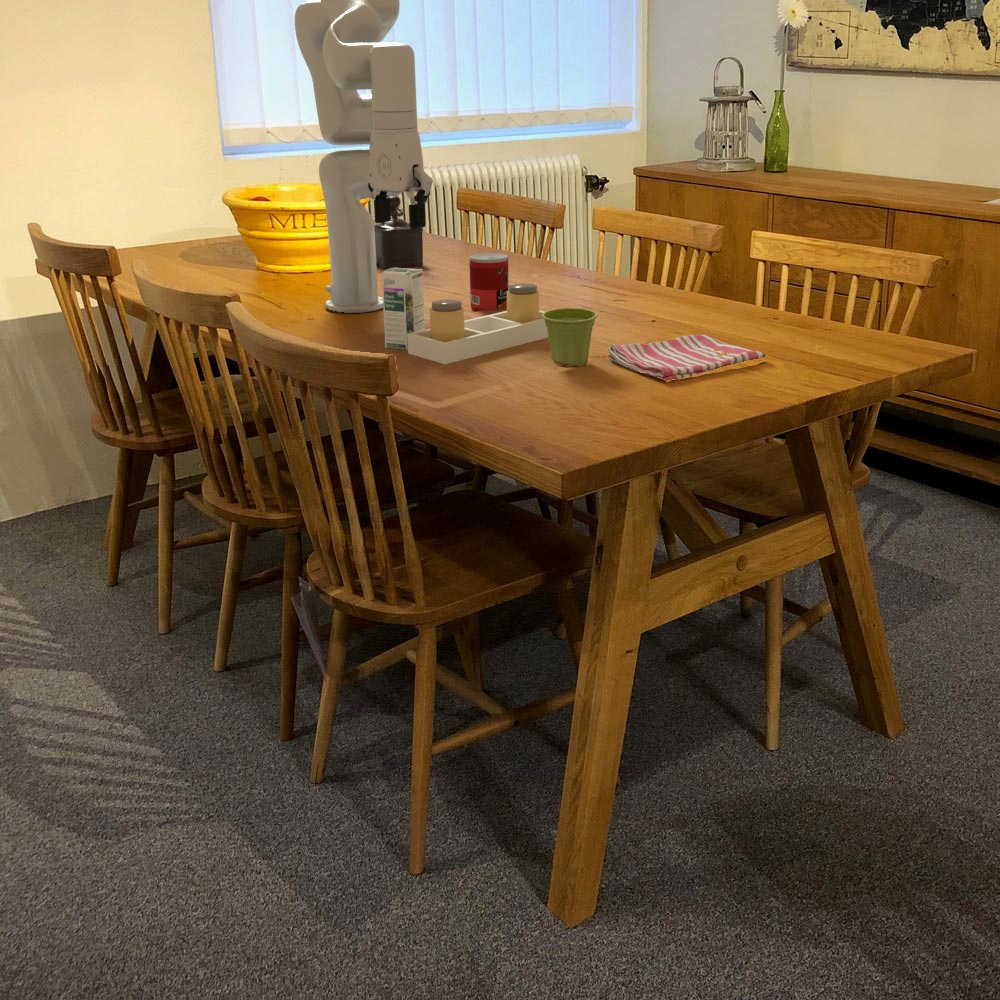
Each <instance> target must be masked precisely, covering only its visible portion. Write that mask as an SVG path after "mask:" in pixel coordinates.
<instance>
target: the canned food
mask: <svg viewBox="0 0 1000 1000" xmlns="http://www.w3.org/2000/svg"><path fill="white" fill-rule="evenodd" d="M469 288H470V289H469V293H470V294H469V295H470V297H469V298H470V308H471V311H473V312H475V313H476V312H481V311H494V310H495V311H496V310H497V311H498V310H502V309H507V291H508V290H509V255H507V254H504V253H499V252H498V253H497V252H481V253H479V252H478V253H475V254H474V253H473V254H472V255H470V256H469Z"/></svg>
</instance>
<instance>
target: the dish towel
mask: <svg viewBox="0 0 1000 1000" xmlns="http://www.w3.org/2000/svg"><path fill="white" fill-rule="evenodd" d="M717 346H718V347H717ZM715 349H717V350H718V349H719V351H714V350H715ZM607 352H608V354H607V357H608V358H609V360H610V361H612V362H615V363H617V364H619V365H620V366H622V367H624V368H625V369H628V368H629V370H632V371H634V370H635V372H637V371H638V372H637V373H639V372H640V374H642V373H644V374H643V375H645V374H647V375H646V376H648V375H650V376H649V377H651V376H655V377H659V378H662V379H665V380H666V381H668V380H672V379H678V378H683V377H689V376H692V375H696V374H699V373H703V372H707V371H710V370H714V369H717V368H720V367H723V366H727V365H731V364H735V363H740V362H744V361H748V360H753V359H759V358H761V357H768V358H769V356H768V355H767V353H764V352H761V351H757V350H751V349H749V348H745V347H740V346H737V345H732V344H730V343H725V342H723V341H720V340H719V339H716V338H714V337H711V336H708V335H705V334H698V335H697V334H690V335H683V336H678V337H675V338H673V339H669V340H664V341H658V342H657V341H655V342H649V343H647V344H645V343H640V342H639V343H630V344H622V345H618V344H615V343H611V345H610V346H608V348H607ZM722 352H723V353H725V352H726V353H727V355H722V356H717V355H719V354H722ZM728 353H729V354H728ZM655 377H654V378H655Z"/></svg>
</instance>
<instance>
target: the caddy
mask: <svg viewBox="0 0 1000 1000" xmlns="http://www.w3.org/2000/svg"><path fill="white" fill-rule="evenodd" d="M544 312H545V311H543V310H539V320H535V321H531V322H527V323H519V322H514V321H510V320H507V310H504V311H501V312H500V311H499V312H496V313H492V314H488V315H483V316H479V317H474V318H471V319H470V318H469V319H466V320H465V319H464V331H465V338H461V339H457V340H453V341H449V342H441V341H438V340H434V339H431V332H430V328H427V329H425V330H422V331H418V332H414V333H409V334H407V339H408V350H407V354H408V355H413V356H416V357H420V358H422V359H425V360H428V361H432V362H436V363H439V364H442V365H447V364H448V365H449V364H452V363H456V362H459V361H463V360H467V359H471V358H474V357H478V356H482V355H487V354H491V353H494V352H498V351H501V350H502V351H503V350H506V349H509V348H513V347H517V346H520V345H524V344H525V345H526V344H528V343H532V342H537V341H540V340H544V339H549V337H548V330H547V326H546V325H545V319H544V318H543V317H542V314H543V313H544Z"/></svg>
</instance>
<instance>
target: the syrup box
mask: <svg viewBox="0 0 1000 1000" xmlns="http://www.w3.org/2000/svg"><path fill="white" fill-rule="evenodd" d="M381 290H382V291H381V293H382V298H383V308H382V309H383V321H384V322H383V323H384V326H383V327H384V348H387V349H394V350H395V349H396V350H405V351H408V339H407V334H409V333H414V332H418V331H422V330H426V329H425V325H426V323H425V304H424V303H425V301H424V299H425V298H424V296H425V295H424V273H423V268H409V267H408V268H390V269H384V271H383V272H381Z"/></svg>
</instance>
